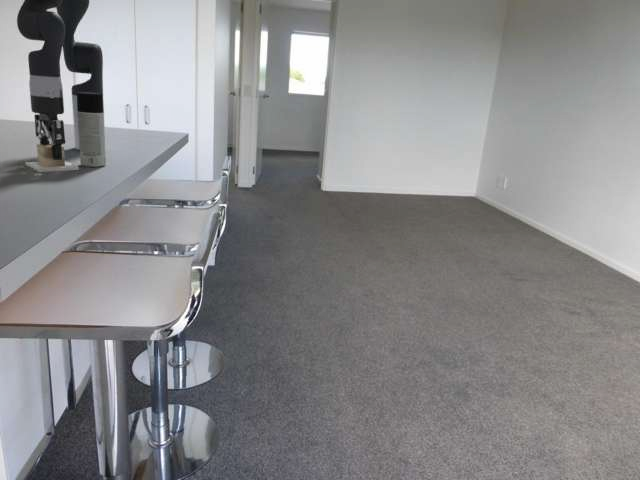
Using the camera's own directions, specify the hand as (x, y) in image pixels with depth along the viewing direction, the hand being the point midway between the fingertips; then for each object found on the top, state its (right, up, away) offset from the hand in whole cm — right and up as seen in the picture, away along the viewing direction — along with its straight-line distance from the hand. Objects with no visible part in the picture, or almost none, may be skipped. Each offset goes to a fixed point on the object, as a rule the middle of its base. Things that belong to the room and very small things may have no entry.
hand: (51, 156), depth 135 cm
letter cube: (0, -2, +1) cm, 2 cm away
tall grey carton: (+7, -1, +9) cm, 11 cm away
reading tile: (0, -3, +1) cm, 3 cm away
